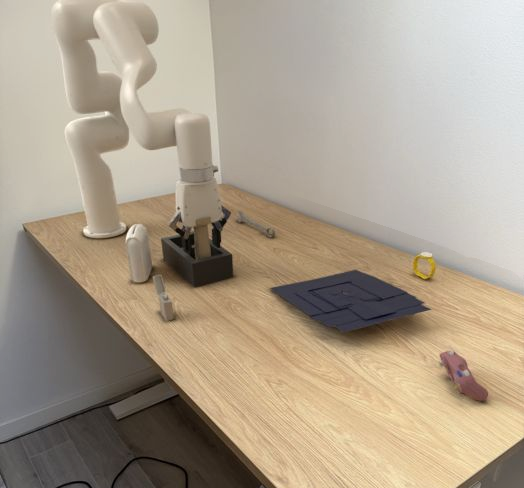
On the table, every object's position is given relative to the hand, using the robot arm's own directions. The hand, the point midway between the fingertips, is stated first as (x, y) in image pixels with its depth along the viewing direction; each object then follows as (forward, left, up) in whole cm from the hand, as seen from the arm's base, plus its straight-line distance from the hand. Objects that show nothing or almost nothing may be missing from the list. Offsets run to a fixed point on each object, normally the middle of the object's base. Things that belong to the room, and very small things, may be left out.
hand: (202, 248), depth 124 cm
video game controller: (+65, +17, -7) cm, 68 cm away
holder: (-5, 0, -7) cm, 8 cm away
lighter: (+13, -16, -7) cm, 22 cm away
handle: (0, 0, -7) cm, 7 cm away
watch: (+30, +44, -7) cm, 54 cm away
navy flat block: (+32, +19, -7) cm, 38 cm away
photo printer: (-8, -13, -7) cm, 17 cm away
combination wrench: (-22, +27, -7) cm, 35 cm away
